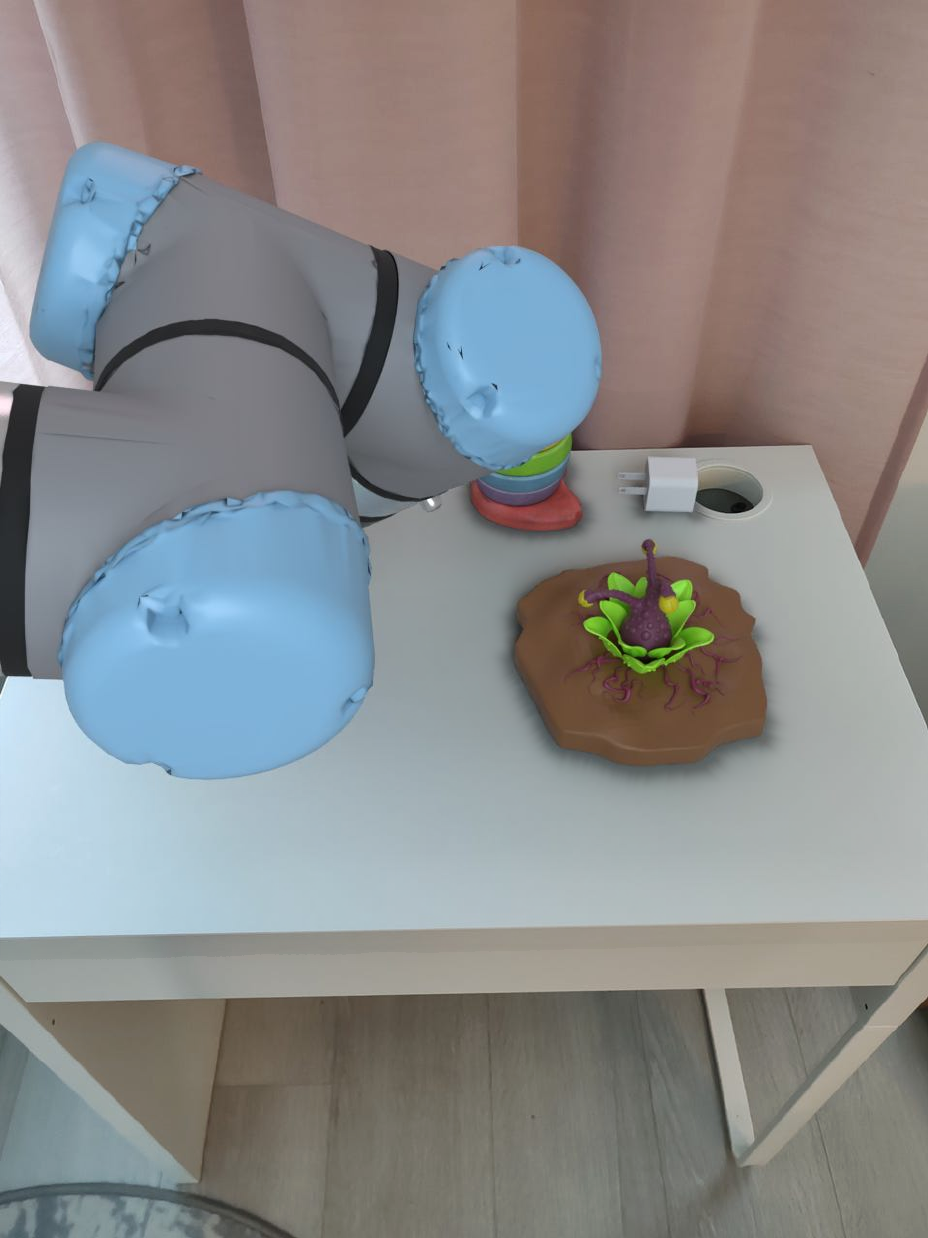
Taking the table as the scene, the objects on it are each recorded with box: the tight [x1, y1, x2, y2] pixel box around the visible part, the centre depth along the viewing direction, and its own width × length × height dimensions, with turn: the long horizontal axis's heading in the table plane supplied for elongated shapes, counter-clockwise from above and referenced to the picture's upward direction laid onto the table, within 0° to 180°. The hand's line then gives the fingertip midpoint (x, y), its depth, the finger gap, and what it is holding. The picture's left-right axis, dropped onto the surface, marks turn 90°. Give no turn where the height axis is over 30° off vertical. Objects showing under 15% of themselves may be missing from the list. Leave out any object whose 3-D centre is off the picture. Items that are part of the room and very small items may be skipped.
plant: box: [513, 538, 768, 767], centre depth 77 cm, size 20×20×11 cm
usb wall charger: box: [616, 456, 699, 513], centre depth 92 cm, size 4×7×4 cm, turn 87°
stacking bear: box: [470, 432, 583, 532], centre depth 88 cm, size 11×10×18 cm
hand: (231, 524), depth 68 cm, fingers closed on plastic cup, 9 cm apart
